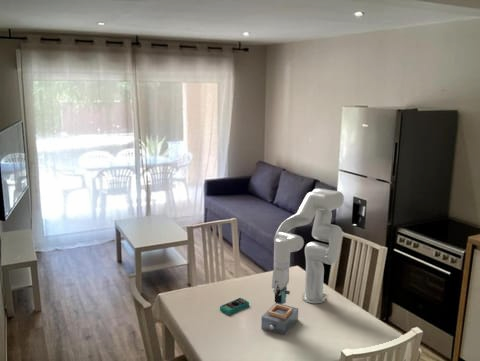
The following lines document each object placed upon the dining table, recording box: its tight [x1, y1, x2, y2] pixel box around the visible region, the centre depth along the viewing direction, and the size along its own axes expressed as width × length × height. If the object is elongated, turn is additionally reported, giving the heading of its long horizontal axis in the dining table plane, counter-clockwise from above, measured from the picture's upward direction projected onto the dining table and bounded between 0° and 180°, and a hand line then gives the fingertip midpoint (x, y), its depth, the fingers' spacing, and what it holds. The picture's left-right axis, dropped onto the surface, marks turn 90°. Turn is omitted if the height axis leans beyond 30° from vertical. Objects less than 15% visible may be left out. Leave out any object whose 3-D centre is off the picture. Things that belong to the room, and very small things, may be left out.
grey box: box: [261, 302, 299, 336], centre depth 206 cm, size 18×12×8 cm, turn 151°
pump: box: [275, 287, 291, 305], centre depth 204 cm, size 5×7×7 cm
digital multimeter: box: [219, 297, 250, 316], centre depth 222 cm, size 7×15×3 cm, turn 132°
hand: (280, 299), depth 205 cm, fingers closed on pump, 5 cm apart
